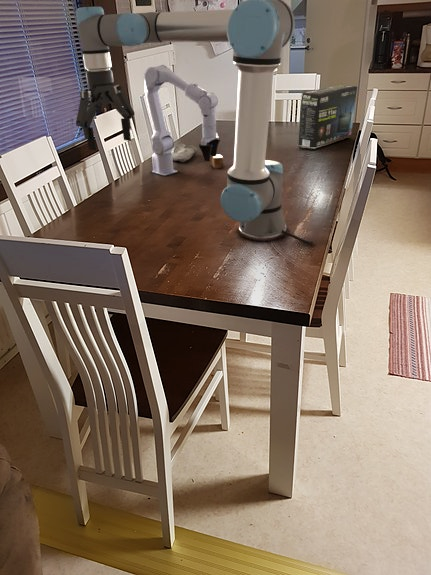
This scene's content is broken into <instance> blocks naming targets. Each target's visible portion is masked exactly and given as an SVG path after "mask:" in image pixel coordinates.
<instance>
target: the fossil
mask: <svg viewBox="0 0 431 575" xmlns="http://www.w3.org/2000/svg"><path fill="white" fill-rule="evenodd" d="M198 153H199V150H198V148H197V146H195V145H188V146H187V145H186V143H184V142H183V143H181V142H176V143H175V144H174V147H173V148H172V159H173V162H177V161H179V162H180V163H185V162H187V161H188V160H190V159H191V158H192V157H193V156H194V155H197V154H198Z"/></svg>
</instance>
